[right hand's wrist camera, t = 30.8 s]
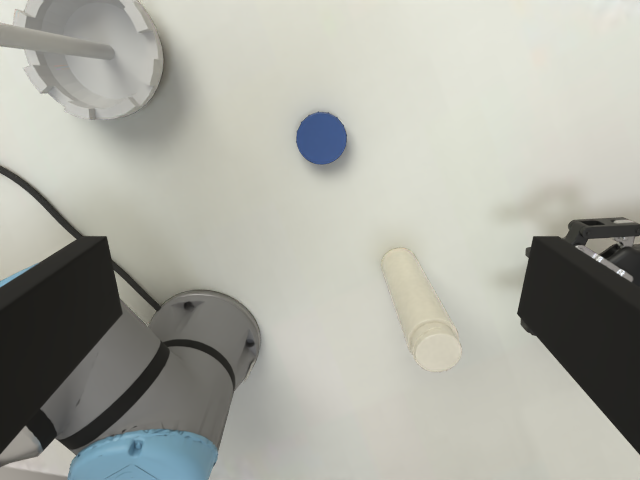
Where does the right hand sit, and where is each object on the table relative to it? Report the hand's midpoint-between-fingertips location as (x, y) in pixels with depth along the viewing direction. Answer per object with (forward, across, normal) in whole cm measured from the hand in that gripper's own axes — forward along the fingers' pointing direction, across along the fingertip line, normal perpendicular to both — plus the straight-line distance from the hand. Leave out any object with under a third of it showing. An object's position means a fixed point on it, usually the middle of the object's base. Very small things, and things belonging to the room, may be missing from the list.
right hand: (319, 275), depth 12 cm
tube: (+36, +10, -16) cm, 40 cm away
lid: (+34, 0, 0) cm, 34 cm away
